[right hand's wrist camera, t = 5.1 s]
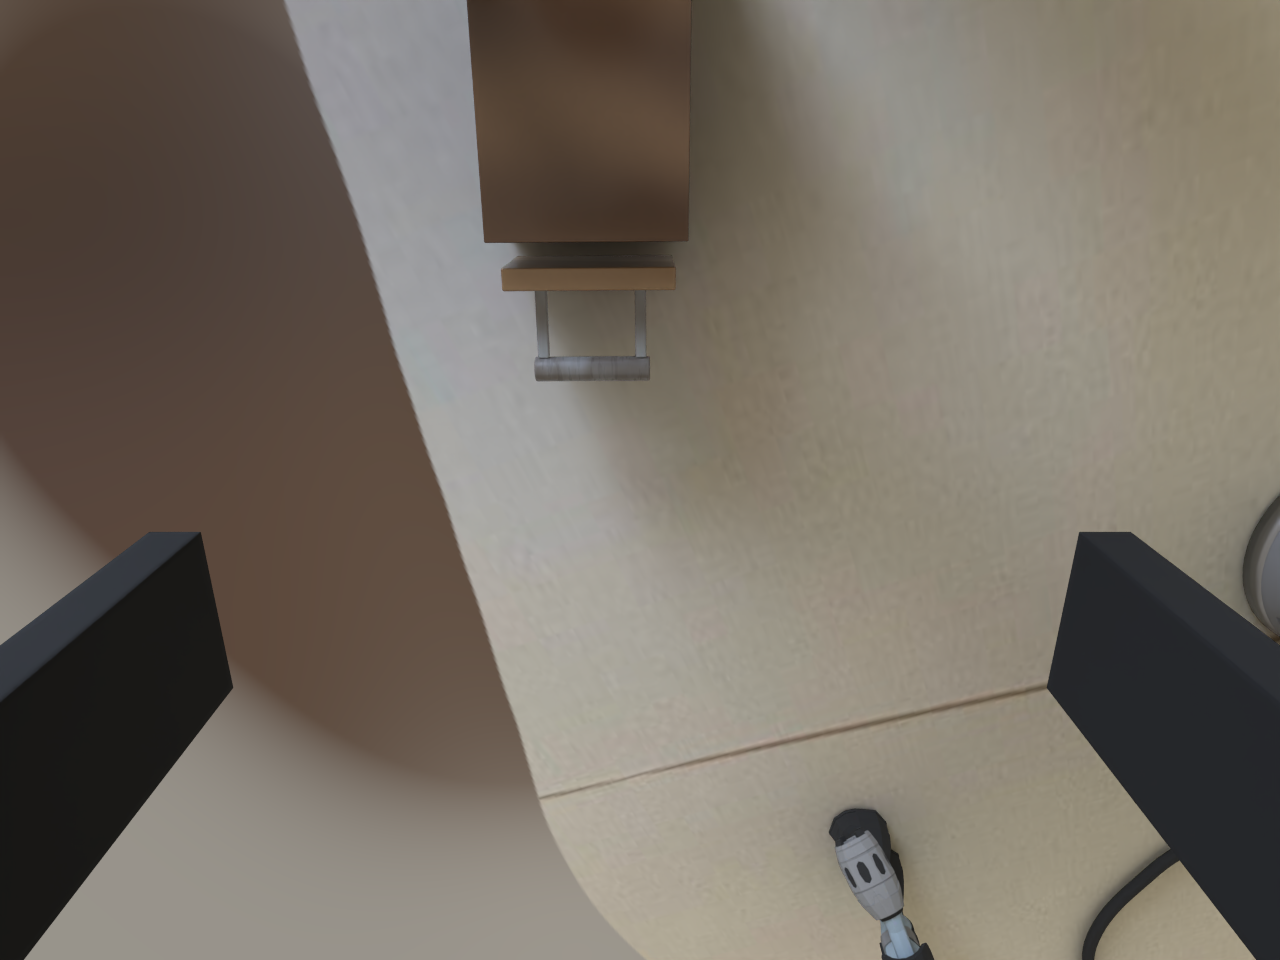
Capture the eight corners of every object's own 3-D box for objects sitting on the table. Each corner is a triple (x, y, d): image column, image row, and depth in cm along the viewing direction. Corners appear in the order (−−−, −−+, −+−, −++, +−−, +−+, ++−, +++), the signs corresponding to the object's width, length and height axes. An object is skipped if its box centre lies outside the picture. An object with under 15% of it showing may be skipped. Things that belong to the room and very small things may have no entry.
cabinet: (681, 229, 50) (688, 241, 43) (507, 230, 50) (484, 242, 43) (685, -145, 43) (694, -208, 36) (484, -143, 43) (451, -205, 36)
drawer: (671, 362, 52) (674, 386, 46) (522, 363, 52) (508, 387, 46) (674, -64, 44) (678, -96, 38) (497, -62, 44) (476, -94, 38)
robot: (927, 921, 70) (1032, 1199, 51) (871, 937, 70) (954, 1218, 52) (859, 743, 63) (950, 988, 44) (798, 763, 64) (863, 1012, 45)
